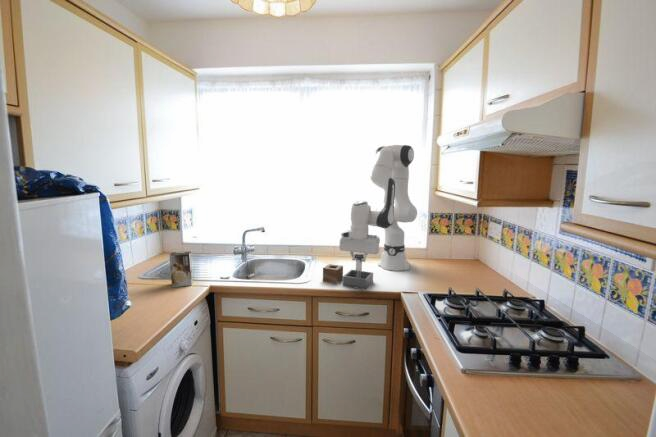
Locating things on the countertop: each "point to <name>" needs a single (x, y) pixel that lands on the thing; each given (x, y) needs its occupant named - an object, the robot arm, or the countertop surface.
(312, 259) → the countertop surface
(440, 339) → the countertop surface
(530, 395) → the countertop surface
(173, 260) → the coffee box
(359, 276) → the steel pin
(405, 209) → the robot arm
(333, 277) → the walnut hitch block
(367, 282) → the charcoal tray
